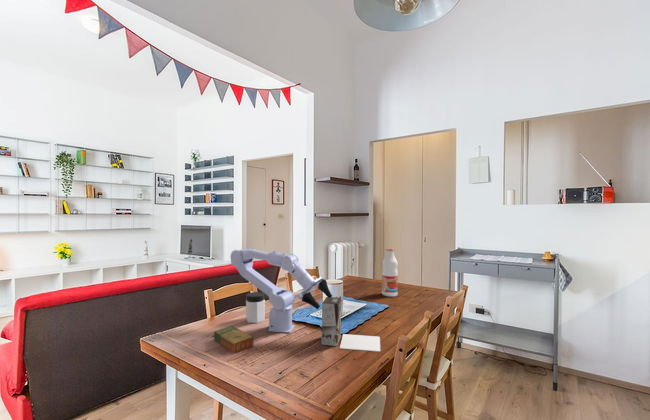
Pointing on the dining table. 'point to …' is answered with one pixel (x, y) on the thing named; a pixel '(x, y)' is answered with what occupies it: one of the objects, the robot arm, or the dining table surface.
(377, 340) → the mat
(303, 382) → the dining table surface
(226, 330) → the carton
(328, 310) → the coffee box
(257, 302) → the jar
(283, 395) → the dining table surface
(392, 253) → the fruit juice
